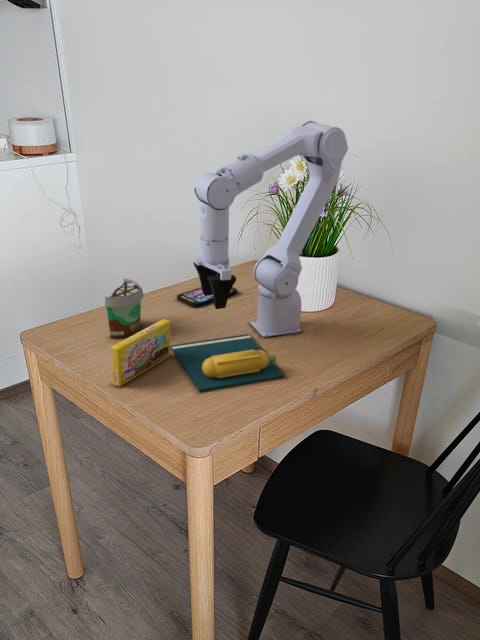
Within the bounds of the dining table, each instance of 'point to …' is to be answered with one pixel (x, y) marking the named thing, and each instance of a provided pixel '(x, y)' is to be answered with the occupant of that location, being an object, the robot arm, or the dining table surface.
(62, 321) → the dining table surface
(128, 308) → the food container
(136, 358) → the candy box
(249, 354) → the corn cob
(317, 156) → the robot arm
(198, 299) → the smartphone
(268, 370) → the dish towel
